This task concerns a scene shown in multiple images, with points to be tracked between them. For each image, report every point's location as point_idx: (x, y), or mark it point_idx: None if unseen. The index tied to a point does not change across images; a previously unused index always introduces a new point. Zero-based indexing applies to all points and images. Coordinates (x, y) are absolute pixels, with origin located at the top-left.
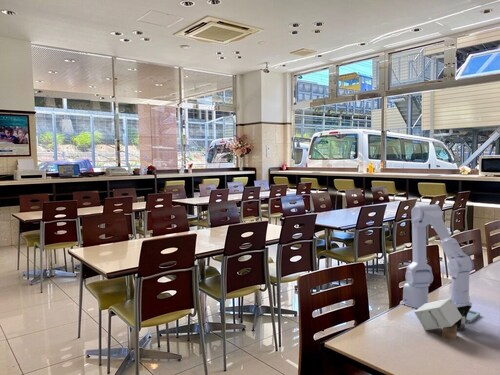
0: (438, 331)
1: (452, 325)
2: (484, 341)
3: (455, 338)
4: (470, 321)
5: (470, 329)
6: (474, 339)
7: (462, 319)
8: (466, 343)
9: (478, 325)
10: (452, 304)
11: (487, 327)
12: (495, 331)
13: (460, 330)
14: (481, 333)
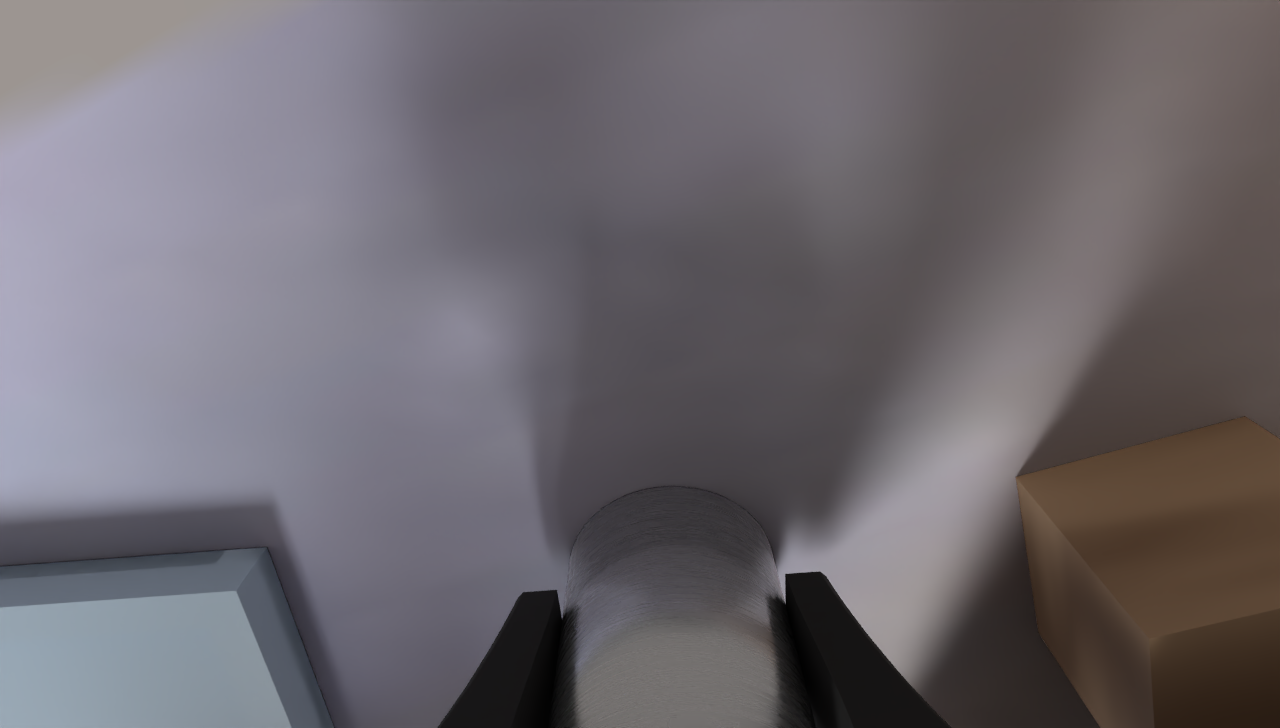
0: (1041, 695)
1: (1251, 679)
2: (908, 8)
3: (1203, 438)
4: (238, 574)
5: (524, 443)
6: (956, 202)
7: (768, 692)
8: (1277, 225)
9: (195, 428)
10: None
11: (103, 280)
12: (125, 73)
13: (752, 524)
14: (525, 234)
